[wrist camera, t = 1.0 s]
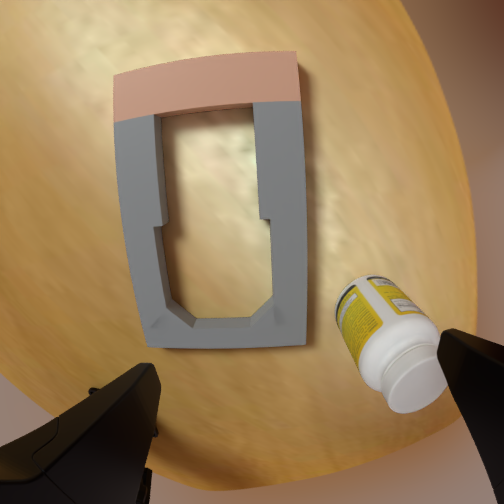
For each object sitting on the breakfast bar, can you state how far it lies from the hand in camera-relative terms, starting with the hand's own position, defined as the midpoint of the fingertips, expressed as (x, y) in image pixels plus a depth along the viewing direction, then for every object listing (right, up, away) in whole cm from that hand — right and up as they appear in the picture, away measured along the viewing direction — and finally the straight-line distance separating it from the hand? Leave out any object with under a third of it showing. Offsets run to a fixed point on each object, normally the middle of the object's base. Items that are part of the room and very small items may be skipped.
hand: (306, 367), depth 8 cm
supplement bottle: (+7, -1, +14) cm, 15 cm away
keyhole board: (-4, +6, +12) cm, 14 cm away
